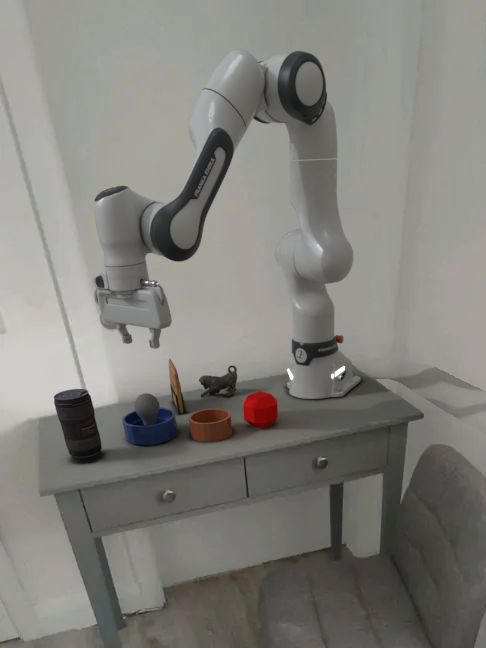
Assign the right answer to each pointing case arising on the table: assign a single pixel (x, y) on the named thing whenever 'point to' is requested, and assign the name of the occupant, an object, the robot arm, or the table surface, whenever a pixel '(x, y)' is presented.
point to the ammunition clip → (176, 389)
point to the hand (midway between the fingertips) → (141, 345)
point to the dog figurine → (219, 383)
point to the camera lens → (78, 424)
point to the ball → (260, 409)
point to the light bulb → (147, 408)
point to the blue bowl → (150, 428)
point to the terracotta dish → (210, 425)
